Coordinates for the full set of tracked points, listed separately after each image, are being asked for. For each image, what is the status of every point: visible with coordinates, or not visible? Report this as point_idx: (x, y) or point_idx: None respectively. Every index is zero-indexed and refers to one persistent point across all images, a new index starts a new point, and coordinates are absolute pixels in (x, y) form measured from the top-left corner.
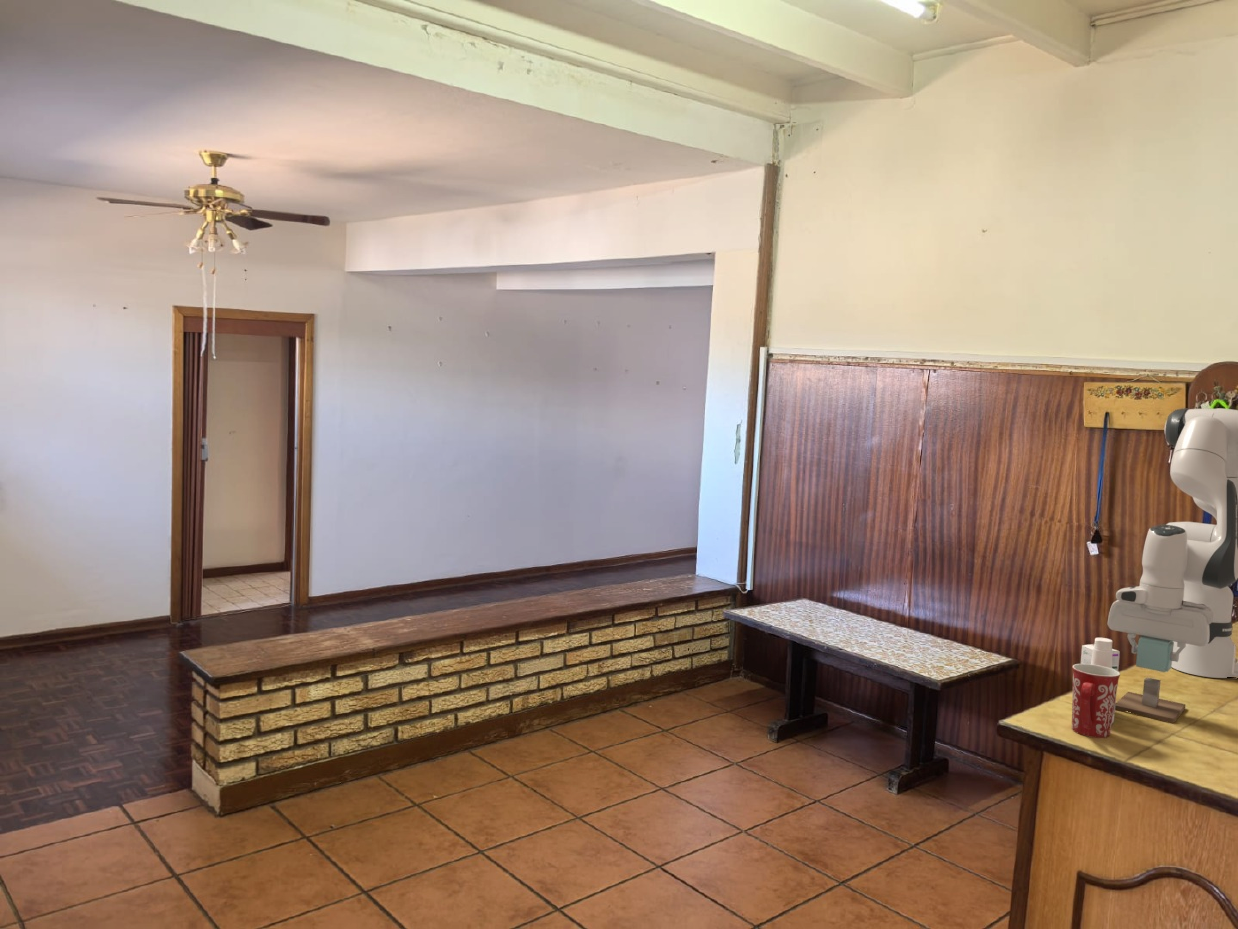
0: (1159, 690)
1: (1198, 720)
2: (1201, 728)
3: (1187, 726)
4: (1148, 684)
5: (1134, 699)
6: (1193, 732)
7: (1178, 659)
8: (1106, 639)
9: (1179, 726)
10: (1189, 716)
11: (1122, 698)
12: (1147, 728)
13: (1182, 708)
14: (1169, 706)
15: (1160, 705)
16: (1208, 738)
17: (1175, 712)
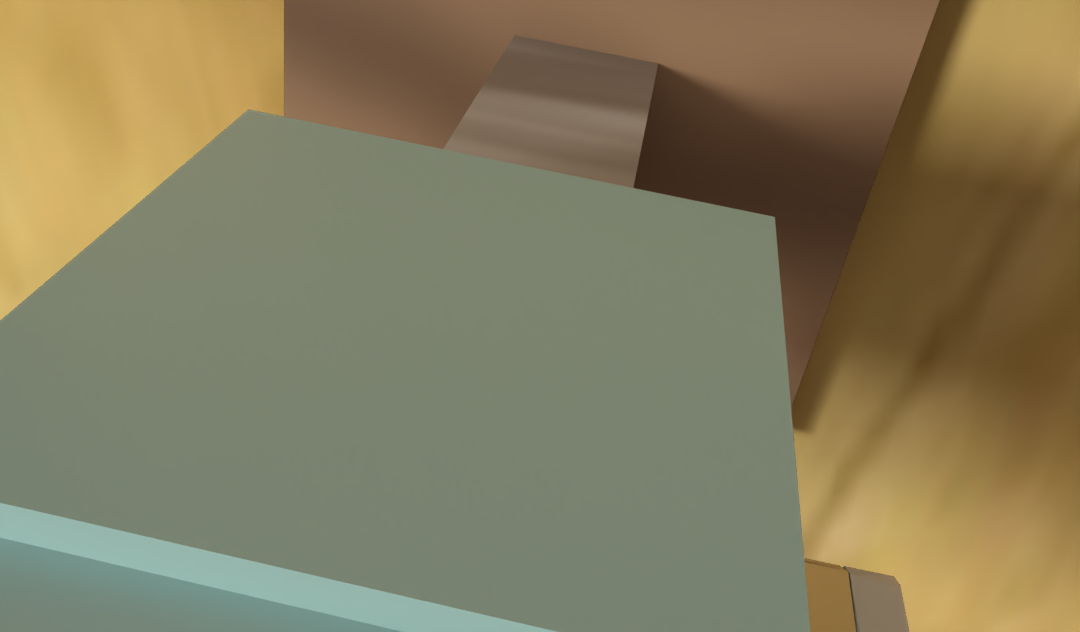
0: (643, 135)
1: (1054, 192)
2: (1013, 421)
3: (891, 429)
4: None
5: (408, 13)
6: (912, 544)
7: (896, 589)
8: None
9: (820, 461)
10: (984, 100)
11: (297, 64)
12: None
13: (934, 10)
14: (782, 45)
15: (683, 72)
16: (1003, 616)
17: (821, 244)
